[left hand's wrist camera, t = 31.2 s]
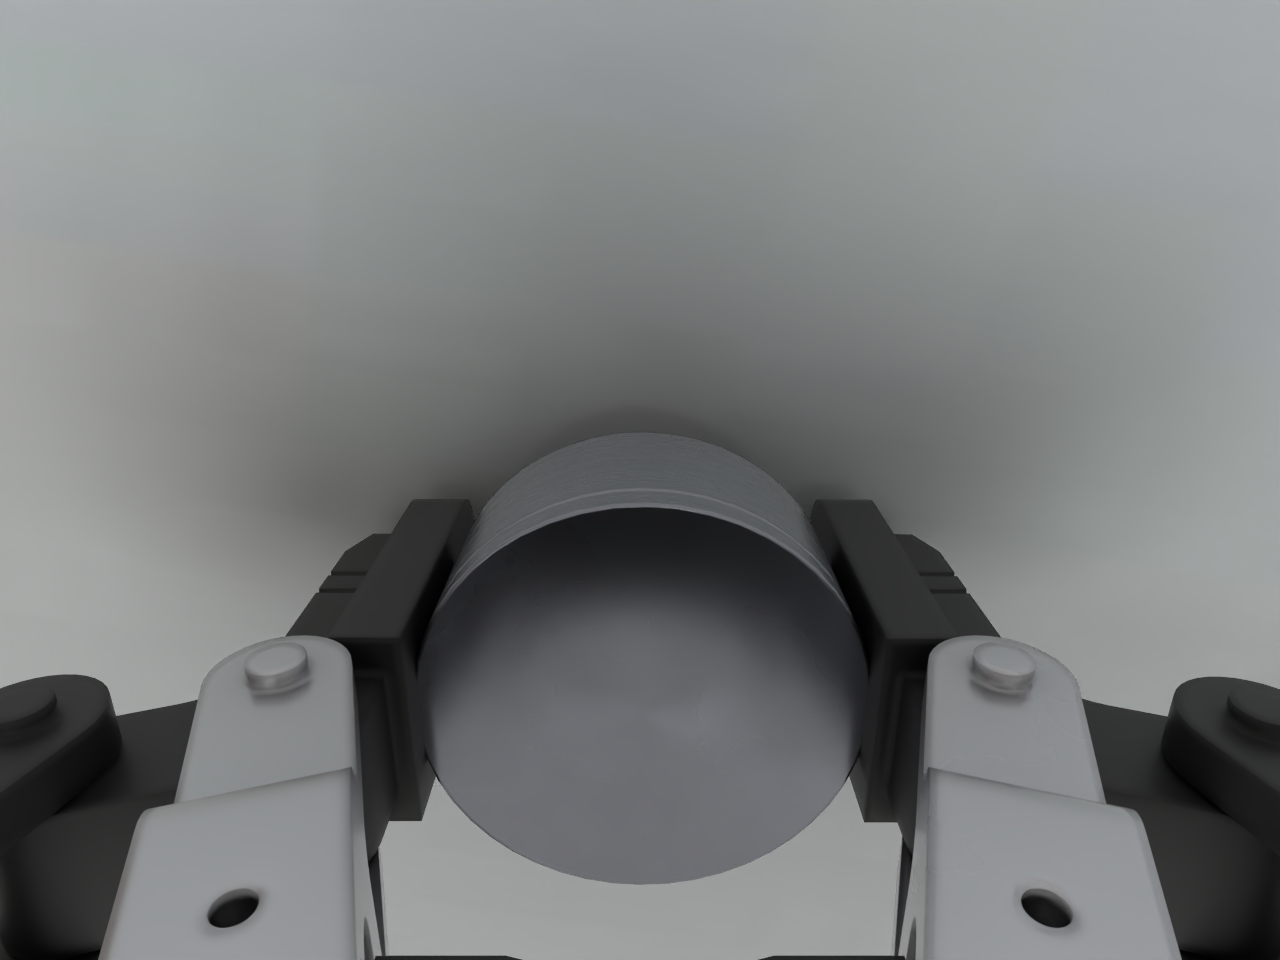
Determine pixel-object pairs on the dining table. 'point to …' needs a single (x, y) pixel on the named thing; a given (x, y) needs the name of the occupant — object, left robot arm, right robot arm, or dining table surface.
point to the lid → (642, 664)
